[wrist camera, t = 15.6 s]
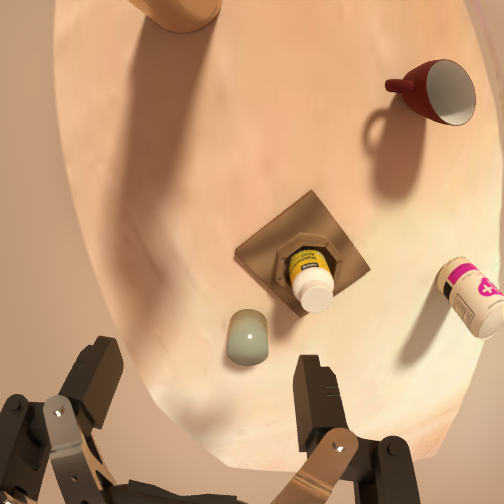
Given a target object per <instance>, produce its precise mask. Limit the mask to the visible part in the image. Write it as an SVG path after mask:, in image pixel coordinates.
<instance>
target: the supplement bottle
mask: <svg viewBox="0 0 504 504" xmlns="http://www.w3.org/2000/svg"><path fill="white" fill-rule="evenodd" d="M288 266H289V273H290V278H291V284H292V290H293V293H294V295H295V297H296V298H297V299H298V300H299V301H300V302H301V305H302V307H303V308H304V310H306V311H307V312H310V313H320V312H323V311H325V310H327V309H328V308H329V307H330V306H331V304H332V302H333V293H332V292H333V289H334V281H333V278H332V275H331V273H330V270H329V268H328V265H327V263H326V261H325V258H324V256H323V254H322V252H321V251H320V250H319V249H317V248H315V247H313V246H303V247H300V248H299V249H297V250H296V251H295V252H293V253H292V254H291V256H290V258H289V261H288Z"/></svg>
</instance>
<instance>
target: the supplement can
mask: <svg viewBox="0 0 504 504" xmlns="http://www.w3.org/2000/svg"><path fill="white" fill-rule="evenodd" d="M437 286H438V289H439V291H440V292H441V294H442V295H443V296H444V297H445V299H446V300H447V301H448V302H449V304H450V305H451V306H452V308H453V309H454V310H455V312H456V313H457V314H458V315H459V317H460V318H461V320H462V321H463V322H464V324H465V325H466V326H467V328H468V329H469V331H470V332H471V333H472V335H474V336H475V337H477V338H480V339H481V340H486V339H489V338H491V337H492V336H494V335H495V334H496V333H497V332H498V331H499V330H500V329H501V328H502V327H503V325H504V295H503V294H502V293H501V292H500V291H499V290H498V289H497V288H496V287H495V286H494V285H493V284H492V283H491V282H490V281H489V280H488V279H487V278H486V277H485V276H484V275H483V274H482V273H481V272H480V271H479V270H478V269H477V268H476V267H475V266H474V265H473V264H472V263H471V262H470V261H469V260H468V259H467V258H465V257H462V256H460V257H455V258H453V259H451V260H449V261H448V262H447V263H446V264H445V265H444V266H443V268H442V269H441V271H440V273H439V276H438V281H437Z"/></svg>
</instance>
